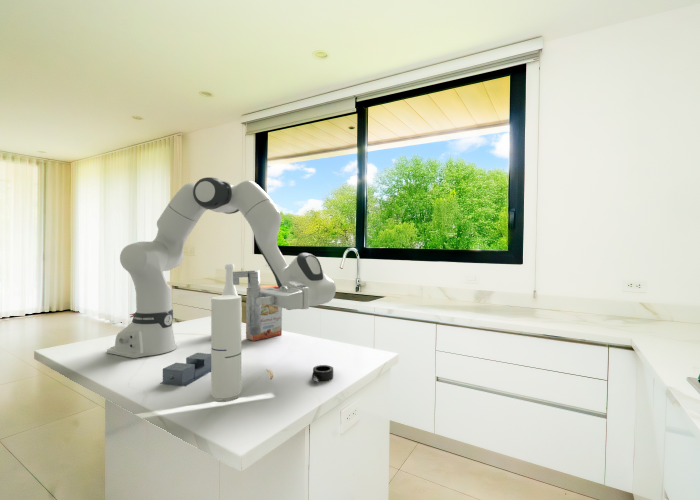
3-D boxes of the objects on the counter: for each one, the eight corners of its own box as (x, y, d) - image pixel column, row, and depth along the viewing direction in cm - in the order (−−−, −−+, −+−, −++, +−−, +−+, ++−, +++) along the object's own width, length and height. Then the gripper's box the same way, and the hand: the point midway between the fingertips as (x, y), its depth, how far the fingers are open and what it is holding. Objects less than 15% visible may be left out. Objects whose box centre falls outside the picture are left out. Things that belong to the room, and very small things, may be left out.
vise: (185, 390, 91) (185, 371, 91) (159, 387, 93) (159, 368, 93) (217, 370, 105) (217, 354, 105) (194, 368, 107) (194, 352, 107)
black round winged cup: (301, 378, 101) (301, 368, 101) (330, 370, 106) (330, 361, 106) (314, 387, 94) (314, 376, 94) (344, 379, 100) (344, 369, 100)
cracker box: (253, 341, 137) (253, 288, 136) (245, 338, 141) (245, 287, 140) (282, 335, 147) (282, 285, 147) (274, 332, 151) (274, 284, 151)
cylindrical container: (216, 390, 91) (216, 295, 91) (244, 389, 92) (244, 295, 91) (207, 402, 84) (207, 299, 84) (237, 401, 85) (237, 299, 84)
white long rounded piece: (227, 330, 153) (228, 262, 153) (246, 332, 150) (246, 263, 150) (212, 336, 144) (212, 264, 144) (231, 338, 141) (231, 264, 141)
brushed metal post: (260, 331, 102) (259, 270, 102) (261, 334, 99) (260, 271, 99) (233, 334, 99) (232, 271, 99) (234, 337, 96) (233, 272, 96)
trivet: (225, 382, 96) (225, 380, 96) (245, 369, 107) (245, 367, 107) (262, 386, 94) (262, 384, 94) (279, 372, 104) (279, 370, 104)
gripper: (274, 282, 116) (234, 286, 107) (311, 287, 101) (269, 292, 92) (274, 301, 116) (235, 306, 107) (311, 309, 102) (270, 316, 92)
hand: (251, 300), depth 99 cm, fingers closed on brushed metal post, 3 cm apart
